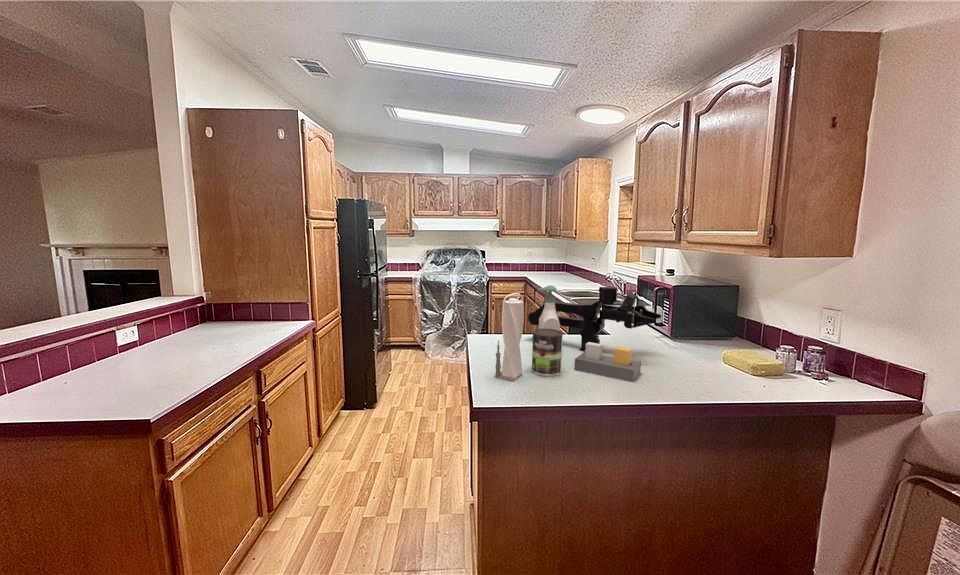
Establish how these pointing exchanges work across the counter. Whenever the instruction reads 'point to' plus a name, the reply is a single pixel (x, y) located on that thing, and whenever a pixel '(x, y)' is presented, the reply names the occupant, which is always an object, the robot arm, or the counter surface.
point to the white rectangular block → (593, 351)
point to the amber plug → (622, 356)
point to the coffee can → (547, 352)
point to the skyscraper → (511, 339)
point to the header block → (608, 367)
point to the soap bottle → (549, 311)
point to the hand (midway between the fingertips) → (658, 318)
